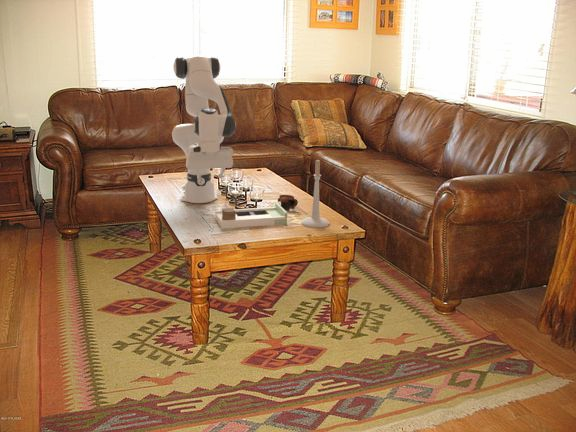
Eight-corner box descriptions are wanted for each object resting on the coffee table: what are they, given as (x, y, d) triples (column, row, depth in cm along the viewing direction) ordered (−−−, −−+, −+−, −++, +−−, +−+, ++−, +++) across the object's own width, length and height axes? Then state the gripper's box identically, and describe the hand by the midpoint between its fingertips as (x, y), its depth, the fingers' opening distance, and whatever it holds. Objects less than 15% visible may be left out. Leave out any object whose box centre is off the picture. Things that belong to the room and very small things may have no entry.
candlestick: (308, 229, 276) (311, 163, 267) (296, 220, 287) (298, 157, 278) (334, 226, 281) (337, 161, 272) (321, 218, 292) (324, 155, 283)
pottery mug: (272, 210, 304) (274, 194, 306) (283, 215, 311) (285, 199, 313) (292, 209, 296) (293, 192, 298) (303, 213, 304) (304, 197, 306)
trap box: (215, 218, 288) (215, 206, 286) (277, 213, 297) (277, 202, 295) (222, 228, 273) (222, 216, 272) (286, 224, 282) (287, 212, 281)
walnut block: (222, 218, 280) (222, 208, 278) (233, 217, 281) (233, 208, 280) (224, 221, 275) (224, 211, 274) (235, 220, 277) (235, 211, 275)
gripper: (231, 145, 272) (231, 175, 276) (184, 146, 266) (185, 178, 270) (234, 147, 267) (234, 178, 270) (187, 148, 261) (188, 180, 264)
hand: (210, 178), depth 270 cm, fingers open, 8 cm apart
